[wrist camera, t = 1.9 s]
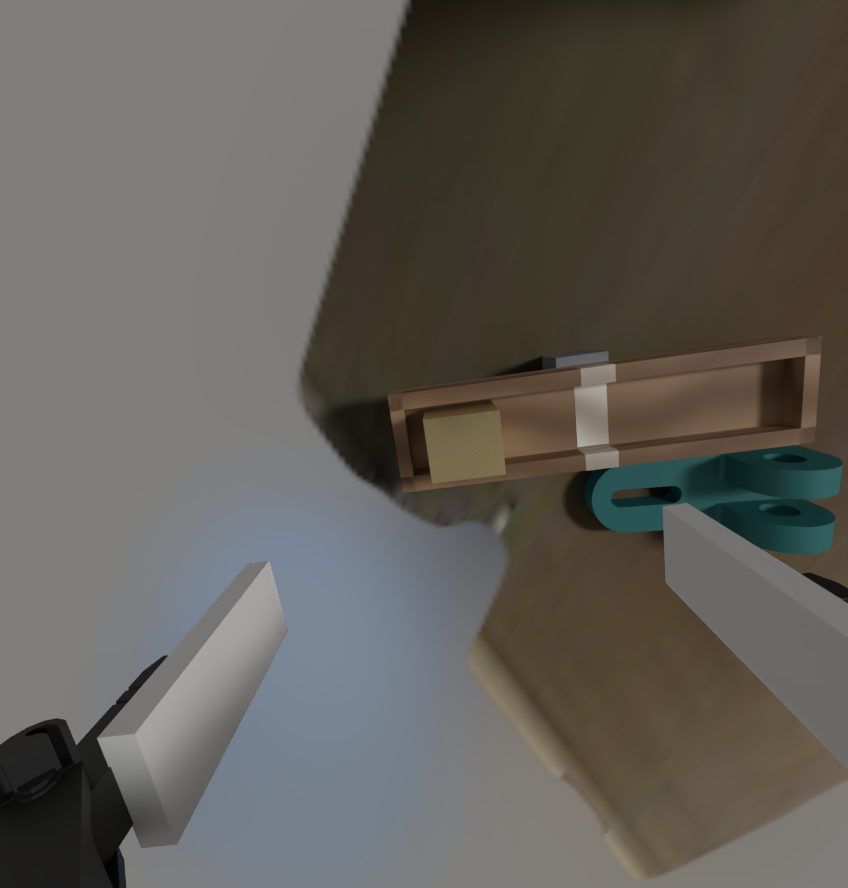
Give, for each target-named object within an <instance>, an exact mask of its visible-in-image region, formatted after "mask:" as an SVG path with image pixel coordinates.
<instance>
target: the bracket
mask: <svg viewBox="0 0 848 888" xmlns="http://www.w3.org/2000/svg"><path fill="white" fill-rule="evenodd" d="M842 467H843V462H842V461H841V460H840V459H839V458H836V457H834V456H831V455H828V454H825V453H821V452H818V451H814V450H811V449H807V448H804V447H800V446H797V445H791V446H783V447H775V448H766V449H758V450H750V451H742V452H734V453H725V454H717V455H709V456H701V457H693V458H684V459H676V460H668V461H660V462H651V463H643V464H635V465H627V466H619V467H613V468H605V469H597V470H593V471H592V472H591V473H590V475H589V476H588V479H587V481H586V484H585V490H584V496H585V501H586V504H587V506H588V508H589V509H590V511H591V512H592V513H593V514H594V515H595V517H596V518H597V519H598V520H599V521H600V522H601V523H602V524H603V525H604V526H606V527H607V528H609V529H611V530H614V531H617V532H623V533H631V532H645V531H659V530H664V528H663V506H668V505H675V504H683V503H688V504H690V505H691V506H693V507H694V508H696V509H698V510H699V511H701V512H702V513H704V514H706V515H707V516H709V517H710V518H712V519H714V520H715V521H717V522H718V523H720V524H722V525H723V526H725V527H726V528H728V529H730V530H731V531H733V532H734V533H736V534H738V535H739V536H741V537H742V538H744V539H746V540H747V541H749V542H750V543H752V544H754V545H755V546H757V547H759V548H763V549H767V550H771V551H777V552H783V553H791V554H815V553H821V552H824V551H827V550H828V549H830V548H831V546H832V539H833V532H834V525H835V516H834V514H833V513H832V512H830V511H829V510H827V509H825V508H823V507H821V506H819V505H816V504H814V503H812V502H809V501H807V500H805V499H822V498H829V497H832V496H835V495H837V494H838V493H839V489H840V481H841V474H842ZM665 486H670V488H669V491H668V492H667V493H666V494H664V495H662V496H650V497H637V498H623V499H611V497H612V495H613V493H614V492H616V491H618V490H625V489H639V488H652V487H665Z"/></svg>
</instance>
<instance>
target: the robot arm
mask: <svg viewBox="0 0 848 888" xmlns="http://www.w3.org/2000/svg"><path fill="white" fill-rule="evenodd" d="M663 528H664V552H665V576H666V583H667V585H668V586H669V587H670V588H671V589H672V590H673V591H674V592H675V593H676V594H677V595H678V596H679V597H680V598H681V599H682V600H683V601H684V602H685V603H686V604H687V605H688V606H689V607H690V608H691V609H692V610H693V611H694V612H695V613H696V614H697V615H698V616H699V617H700V619H701V620H702V621H703V622H704V623H705V624H706V625H707V626H708V627H709V628H710V629H711V630H712V631H713V632H714V633H715V634H716V635H717V636H718V637H719V638H720V639H721V640H722V641H723V642H724V643H725V644H726V645H727V646H728V647H729V648H730V649H731V650H732V651H733V652H734V654H735V655H736V656H737V657H738V658H739V659H740V660H741V661H742V662H743V663H744V664H745V665H746V666H747V667H748V668H749V669H750V670H751V671H752V672H753V673H754V674H755V675H756V676H757V677H758V678H759V679H760V680H761V681H762V682H763V683H764V684H765V685H766V686H767V687H768V689H769V690H770V691H771V692H772V693H773V694H774V695H775V696H776V697H777V698H778V699H779V700H780V701H781V702H782V703H783V704H784V705H785V706H786V707H787V708H788V709H789V710H790V711H791V712H792V713H793V714H794V715H795V716H796V717H797V718H798V719H799V720H800V721H801V722H802V724H803V725H804V726H805V727H806V728H807V729H808V730H809V731H810V732H811V733H812V734H813V735H814V736H815V737H816V738H817V739H818V740H819V741H820V742H821V743H822V744H823V745H824V746H825V747H826V748H827V749H828V750H829V751H830V752H831V753H832V754H833V755H834V756H835V757H836V759H837V760H838V761H839V762H840V763H841V764H842V765H843V766H844V767H845V768H846V769H847V770H848V588H846V587H844V586H843V585H841V584H839V583H837V582H834V581H832V580H829V579H826V578H823V577H821V576H818V575H815V574H812V573H804V574H800V573H798V572H797V571H795V570H794V569H792V568H790V567H789V566H787V565H786V564H784V563H782V562H781V561H779V560H778V559H776V558H774V557H773V556H771V555H770V554H768V553H766V552H765V551H763V550H762V549H760V548H758V547H757V546H755V545H754V544H752V543H750V542H749V541H747V540H746V539H744V538H742V537H741V536H739V535H738V534H736V533H734V532H733V531H731V530H730V529H728V528H726V527H725V526H723V525H722V524H720V523H718V522H717V521H715V520H714V519H712V518H710V517H709V516H707V515H706V514H704V513H702V512H701V511H699V510H698V509H696V508H694V507H693V506H691V505H690V504H688V503H683V504H675V505H668V506H663ZM287 632H288V630H287V626H286V622H285V619H284V615H283V611H282V607H281V604H280V600H279V596H278V592H277V589H276V585H275V581H274V577H273V573H272V570H271V566H270V562H269V561H265V562H258V563H250V564H247V565H246V566H245V567H244V569H243V570H242V571H241V572H240V573H239V574H238V575H237V577H236V578H235V579H234V580H233V581H232V582H231V584H230V585H229V586H228V587H227V588H226V589H225V591H224V592H223V593H222V594H221V595H220V596H219V598H218V599H217V600H216V601H215V602H214V603H213V605H212V606H211V607H210V608H209V609H208V610H207V612H206V613H205V614H204V615H203V616H202V617H201V618H200V620H199V621H198V622H197V623H196V624H195V626H194V627H193V628H192V629H191V630H190V631H189V632H188V633H187V635H186V636H185V637H184V638H183V639H182V640H181V642H180V643H179V644H178V645H177V646H176V647H175V649H174V650H173V651H172V652H171V653H170V654H169V655H167V656H163V657H161V658H160V659H159V660H157V661H156V662H155V663H154V664H152V665H151V666H149V667H148V668H147V669H146V670H144V671H143V672H142V673H141V674H140V675H139V677H138V678H137V679H136V680H135V681H134V682H133V683H132V684H131V685H130V687H129V690H128V691H125V692H124V693H123V695H122V696H121V697H120V698H119V699H118V700H117V701H116V705H112V707H111V708H110V709H109V710H108V711H107V712H106V713H105V714H104V715H103V717H102V718H101V719H100V720H99V721H98V722H97V723H96V724H95V726H94V727H93V728H92V729H91V730H90V731H89V732H88V733H87V734H86V736H85V737H84V738H83V739H82V740H81V741H80V742H79V743H78V744H77V746H76V744H75V741H74V739H73V737H72V735H71V732H70V729H69V727H68V725H67V723H66V720H63V719H57V718H56V719H51V720H47V721H43V722H40V723H38V724H35V725H33V726H30V727H28V728H26V729H24V730H22V731H21V732H19V733H17V734H16V735H14V736H12V737H10V738H9V739H7V740H6V741H5V742H3V743H2V744H1V745H0V888H126V878H125V866H124V858H123V856H122V854H121V851H120V849H119V846H120V844H121V843H122V841H123V839H124V838H125V836H126V835H127V833H128V832H129V830H130V828H131V827H132V826H133V829H134V831H135V834H136V836H137V838H138V841H139V844H140V846H141V848H146V847H157V846H166V845H176V844H177V843H178V841H179V839H180V838H181V836H182V834H183V832H184V830H185V828H186V826H187V824H188V822H189V820H190V818H191V816H192V814H193V813H194V811H195V809H196V807H197V805H198V803H199V801H200V799H201V797H202V795H203V793H204V791H205V789H206V788H207V786H208V784H209V782H210V780H211V778H212V776H213V774H214V772H215V770H216V768H217V766H218V764H219V763H220V761H221V759H222V757H223V755H224V753H225V751H226V749H227V747H228V745H229V743H230V741H231V739H232V737H233V735H234V733H235V732H236V730H237V728H238V726H239V724H240V722H241V720H242V718H243V716H244V714H245V712H246V711H247V709H248V707H249V705H250V703H251V701H252V699H253V697H254V695H255V693H256V691H257V689H258V687H259V685H260V684H261V682H262V680H263V678H264V676H265V674H266V672H267V670H268V668H269V666H270V664H271V662H272V660H273V658H274V657H275V655H276V653H277V651H278V649H279V647H280V645H281V643H282V641H283V639H284V637H285V635H286V633H287Z"/></svg>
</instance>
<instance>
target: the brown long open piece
mask: <svg viewBox="0 0 848 888" xmlns="http://www.w3.org/2000/svg"><path fill="white" fill-rule="evenodd" d="M821 345H822V336H795V337H778V338H771V339H763V340H756V341H749V342H742V343H734V344H727V345H720V346H712V347H705V348H698V349H691V350H683V351H676V352H669V353H662V354H654V355H647V356H640V357H633V358H625V359H618V360H611V361H608V351H599V350H584V351H577V352H570V353H563V354H556V355H549V356H542V364H543V370H538V371H531V372H524V373H516V374H509V375H502V376H495V377H487V378H480V379H473V380H465V381H458V382H451V383H444V384H436V385H429V386H422V387H415V388H407V389H400V390H393V391H391V392H390V393H389V394H388V395H387V397H388V403H389V409H390V415H391V422H392V428H393V434H394V440H395V447H396V453H397V459H398V465H399V472H400V478H401V484H402V490H403V493H405V492H414V491H422V490H430V489H438V488H446V487H455V486H463V485H471V484H479V483H487V482H496V481H504V480H512V479H520V478H528V477H537V476H545V475H553V474H561V473H569V472H578V471H589V470H597V469H605V468H613V467H619V466H627V465H635V464H643V463H651V462H660V461H668V460H676V459H684V458H693V457H701V456H709V455H717V454H725V453H734V452H742V451H750V450H758V449H766V448H775V447H783V446H791V445H799V444H807V443H815V430H816V416H817V402H818V387H819V373H820V359H821ZM485 400H491V401H492V402H493V403H494V404H495V405H496V407H497V408H498V409H499V410H500V420H501V430H502V439H503V449H504V459H505V469H506V475H498V476H490V477H482V478H474V479H466V480H457V481H449V482H441V483H433V484H432V480H431V473H430V466H429V459H428V452H427V445H426V438H425V431H424V424H423V417H424V412H425V408H433V407H440V406H448V405H455V404H463V403H470V402H477V401H485Z"/></svg>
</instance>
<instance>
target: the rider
mask: <svg viewBox="0 0 848 888" xmlns="http://www.w3.org/2000/svg"><path fill="white" fill-rule="evenodd" d="M423 424H424V431H425V438H426V445H427V452H428V459H429V466H430V473H431V480H432V484H433V483H441V482H449V481H457V480H466V479H474V478H482V477H490V476H498V475H506V469H505V459H504V449H503V439H502V430H501V420H500V410H499V409H498V408H497V407H496V405H495V404H494V403H493V402H492V401H491V400H485V401H477V402H470V403H463V404H455V405H448V406H440V407H433V408H425V412H424V417H423Z"/></svg>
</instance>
